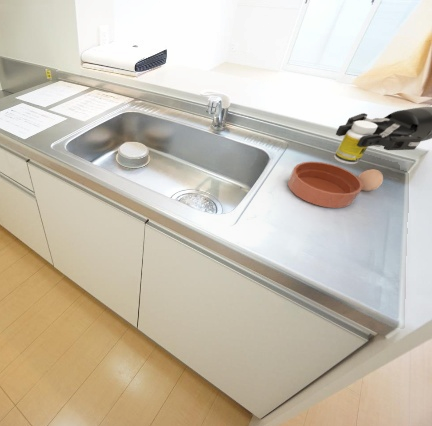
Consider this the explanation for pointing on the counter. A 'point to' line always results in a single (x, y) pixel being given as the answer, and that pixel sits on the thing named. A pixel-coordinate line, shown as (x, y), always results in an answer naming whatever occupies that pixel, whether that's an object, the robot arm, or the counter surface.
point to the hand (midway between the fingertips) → (349, 136)
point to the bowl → (324, 184)
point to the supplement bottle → (354, 142)
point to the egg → (371, 179)
